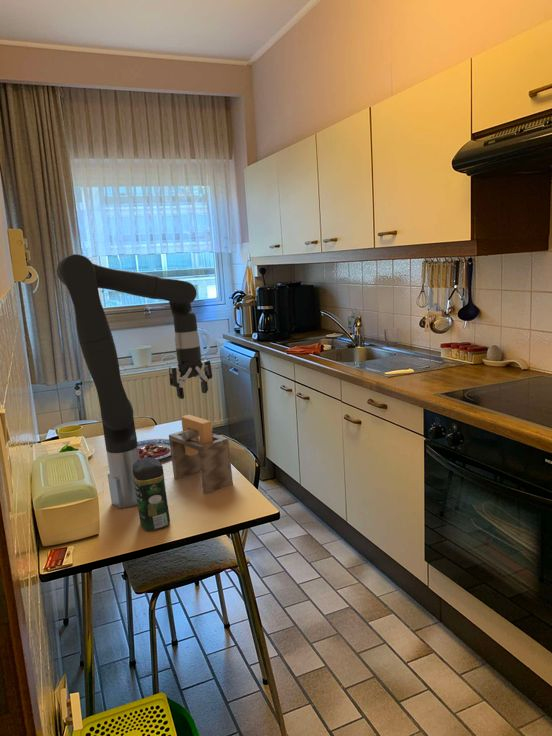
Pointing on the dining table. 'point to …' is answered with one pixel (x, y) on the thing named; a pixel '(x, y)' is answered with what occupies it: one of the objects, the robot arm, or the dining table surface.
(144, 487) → the coffee jar
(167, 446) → the ceramic plate
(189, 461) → the shelf stand
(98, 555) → the dining table surface
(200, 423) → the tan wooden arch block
